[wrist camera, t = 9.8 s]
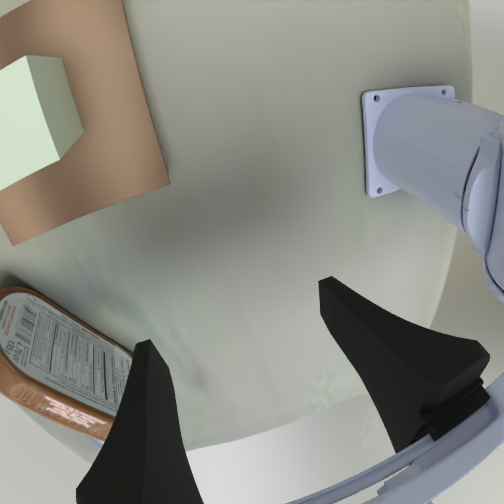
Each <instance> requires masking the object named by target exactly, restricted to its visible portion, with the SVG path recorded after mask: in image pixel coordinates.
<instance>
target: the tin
mask: <svg viewBox="0 0 504 504" xmlns="http://www.w3.org/2000/svg"><path fill="white" fill-rule="evenodd" d="M132 359H133V356H132V355H131V354H130V353H128V352H127V351H126V350H125V349H124V348H122V347H121V346H120V345H118V344H117V343H115V342H113V341H112V340H110V339H108V338H107V337H105V336H103V335H102V334H100V333H98V332H97V331H95V330H94V329H92V328H91V327H89V326H87V325H86V324H84V323H83V322H81V321H80V320H78V319H77V318H75V317H74V316H72V315H71V314H69V313H68V312H66V311H65V310H63V309H62V308H60V307H59V306H57V305H56V304H55V303H53V302H52V301H50V300H49V299H48V298H46V297H44V296H43V295H41V294H40V293H38V292H36V291H34V290H31V289H29V288H25V287H21V286H8V287H4V288H1V289H0V393H1V394H3V395H4V396H5V397H7V398H8V399H10V400H11V401H13V402H15V403H17V404H18V405H21V406H23V407H25V408H26V409H28V410H30V411H33V412H35V413H37V414H39V415H41V416H43V417H45V418H47V419H49V420H52V421H54V422H56V423H58V424H61V425H63V426H65V427H68V428H70V429H73V430H75V431H77V432H80V433H82V434H85V435H87V436H90V437H92V438H95V439H98V440H101V441H103V442H105V440H106V438H107V436H108V434H109V431H110V429H111V427H112V424H113V422H114V419H115V417H116V414H117V411H118V408H119V405H120V402H121V399H122V396H123V393H124V389H125V385H126V382H127V378H128V375H129V371H130V367H131V363H132Z"/></svg>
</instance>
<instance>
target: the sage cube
mask: <svg viewBox="0 0 504 504" xmlns="http://www.w3.org/2000/svg"><path fill="white" fill-rule="evenodd" d="M83 133H84V129H83V126H82V123H81V120H80V117H79V114H78V111H77V108H76V105H75V102H74V99H73V96H72V93H71V89H70V86H69V83H68V79H67V76H66V72H65V69H64V65H63V62H62V58H57V57H45V56H29V55H26V56H24V57H22V58H20V59H18V60H17V61H15V62H13V63H12V64H10V65H8V66H6V67H5V68H3V69H2V70H0V190H2V189H4V188H6V187H7V186H9V185H11V184H13V183H15V182H17V181H18V180H20V179H22V178H24V177H26V176H28V175H30V174H32V173H34V172H36V171H38V170H40V169H42V168H44V167H46V166H48V165H50V164H52V163H54V162H56V161H58V160H60V159H61V158H62V157H63V156H64V154H65V153H66V152H67V151H68V150H69V148H70V147H71V146H72V145H73V144H74V143H75V142H76V140H77V139H78V138H79V137H80V136H81V135H82V134H83Z"/></svg>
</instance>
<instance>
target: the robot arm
mask: <svg viewBox="0 0 504 504" xmlns="http://www.w3.org/2000/svg"><path fill="white" fill-rule="evenodd" d="M375 95H376V100H375V101H374V96H375ZM362 107H363V120H364V135H365V156H366V192H367V195H368V196H369V197H371V198H375V197H378V196H381V195H385V194H388V193H391V192H394V191H397V190H401V189H403V190H404V191H406V192H407V193H409V194H410V195H412V196H413V197H415V198H416V199H418V200H419V201H421V202H422V203H424V204H425V205H427V206H428V207H429V208H431V209H432V210H434V211H435V212H437V213H438V214H439V215H441V216H442V217H444V218H445V219H446V220H448V221H449V222H451V223H452V224H453V225H455V226H456V227H457V228H459V229H460V230H461V231H463V232H464V233H465V234H467V235H468V236H469V237H470V238H471V240H472V246H471V248H472V250H474V251H475V252H476V253H477V254H479V255H480V256H481V257H482V258H483V259H484V260H483V272H484V277H485V280H486V282H487V284H488V286H489V288H490V290H491V291H492V292H493V294H494V295H495V296H496V297H497V298H498V299H499V300H500V301H502V302H503V303H504V115H501V114H499V113H496V112H493V111H491V110H488V109H485V108H482V107H480V106H477V105H474V104H471V103H468V102H465V101H462V100H458V99H455V90H454V87H453V86H449V85H440V86H420V87H406V88H394V89H384V90H375V91H367V92H365V93H364V94H363V96H362ZM378 188H379V190H378V191H377V189H378ZM318 282H319V298H320V314H321V316H322V318H323V320H324V322H325V324H326V326H327V328H328V330H329V332H330V333H331V335H332V336H333V338H334V339H335V341H336V342H337V344H338V345H339V347H340V348H341V349H342V351H343V352H344V354H345V355H346V357H347V358H348V359H349V361H350V362H351V364H352V365H353V367H354V368H355V370H356V371H357V373H358V374H359V376H360V377H361V379H362V381H363V383H364V385H365V387H366V389H367V390H368V392H369V394H370V396H371V398H372V400H373V402H374V404H375V406H376V408H377V410H378V412H379V415H380V417H381V419H382V421H383V423H384V426H385V428H386V430H387V433H388V435H389V437H390V440H391V442H392V445H393V447H394V450H395V452H396V454H395V455H393V456H392V457H390V458H388V459H386V460H384V461H382V462H381V463H379V464H377V465H375V466H373V467H371V468H369V469H367V470H365V471H363V472H361V473H359V474H357V475H355V476H353V477H351V478H348V479H346V480H344V481H342V482H340V483H338V484H335V485H333V486H331V487H328V488H326V489H323V490H321V491H318V492H316V493H313V494H311V495H309V496H306V497H303V498H300V499H298V500H295V501H292V502H289V503H286V504H333V503H336V502H338V501H340V500H343V499H345V498H347V497H349V496H352V495H354V494H356V493H358V492H360V491H362V490H364V489H366V488H368V487H370V486H372V485H374V484H376V483H378V482H380V481H382V480H384V479H385V478H387V477H389V476H391V475H393V474H394V473H396V472H398V471H400V470H401V469H403V468H405V467H407V466H408V465H409V467H408V468H406V469H404V470H403V471H401V472H400V473H398V474H397V475H395V476H394V477H392V478H390V479H389V480H387V481H385V483H384V485H383V486H382V487H381V488H380V489H378V490H377V493H378V495H379V496H377V497H375V498H373V499H371V500H369V501H367V502H365V503H362V504H433V503H432V501H431V500H433V499H434V498H436V497H437V496H438V495H440V494H441V493H443V492H444V491H445V490H447V489H448V488H450V487H451V486H452V485H454V484H455V483H456V482H457V481H459V480H460V479H461V478H463V477H464V476H465V475H466V474H468V473H469V472H470V471H471V470H473V469H474V468H475V467H476V466H477V465H479V464H480V463H481V462H482V461H483V460H484V459H485V458H487V457H488V456H489V455H490V454H491V453H492V452H493V451H494V450H495V449H497V448H498V447H499V446H500V444H502V443H503V442H504V373H502V374H501V375H500V376H499V377H498V378H497V379H496V380H495V381H493V382H492V383H491V384H490V385H489V386H488V387H487V388H486V389H484V388H483V386H482V384H483V383H484V382H483V380H482V379H481V378H480V375H481V374H482V372H483V370H484V369H485V367H486V366H487V364H488V362H489V360H490V354H489V353H488V352H487V351H486V350H485V348H484V347H483V346H482V345H481V344H480V343H479V342H478V341H477V340H471V339H465V338H460V337H455V336H451V335H447V334H443V333H440V332H436V331H433V330H430V329H427V328H424V327H422V326H419V325H416V324H414V323H411V322H409V321H407V320H404V319H402V318H400V317H398V316H396V315H394V314H392V313H390V312H388V311H386V310H385V309H383V308H381V307H379V306H378V305H376V304H374V303H372V302H371V301H369V300H368V299H366V298H364V297H363V296H361V295H360V294H358V293H356V292H355V291H353V290H352V289H350V288H349V287H347V286H346V285H344V284H343V283H342V282H340V281H339V280H337V279H336V278H334V277H332V276H330V277H328V278H325V279H322V280H320V281H318ZM76 502H77V504H204V503H203V501H202V498H201V496H200V493H199V491H198V488H197V485H196V483H195V480H194V477H193V474H192V471H191V468H190V466H189V462H188V459H187V456H186V452H185V449H184V445H183V441H182V437H181V431H180V425H179V419H178V412H177V405H176V398H175V391H174V386H173V382H172V378H171V374H170V370H169V367H168V366H167V364H166V363H165V361H164V360H163V358H162V357H161V355H160V354H159V352H158V351H157V349H156V347H155V346H154V344H153V343H152V341H151V340H150V339H149V340H146V341H143V342H139V343H137V344H136V346H135V350H134V354H133V359H132V363H131V367H130V371H129V375H128V378H127V382H126V385H125V389H124V393H123V396H122V399H121V402H120V405H119V408H118V411H117V414H116V417H115V419H114V422H113V424H112V427H111V429H110V431H109V434H108V436H107V438H106V440H105V442H104V444H103V446H102V448H101V450H100V452H99V454H98V456H97V457H96V459H95V461H94V463H93V464H92V466H91V468H90V470H89V471H88V473H87V474H86V476H85V477H84V479H83V480H82V481H81V483H80V484H79V486H78V487H77V488H76Z"/></svg>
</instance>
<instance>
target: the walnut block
mask: <svg viewBox="0 0 504 504" xmlns="http://www.w3.org/2000/svg"><path fill="white" fill-rule="evenodd" d="M26 55H29V56H45V57H57V58H62V62H63V65H64V69H65V72H66V76H67V79H68V83H69V86H70V89H71V93H72V96H73V99H74V102H75V105H76V108H77V111H78V114H79V117H80V120H81V123H82V126H83V129H84V133H83V134H82V135H81V136H80V137H79V138H78V139H77V140H76V142H75V143H74V144H73V145H72V146H71V147H70V148H69V150H68V151H67V152H66V153H65V154H64V156H63V157H62V158H61V159H60V160H58V161H56V162H54V163H52V164H50V165H48V166H46V167H44V168H42V169H40V170H38V171H36V172H34V173H32V174H30V175H28V176H26V177H24V178H22V179H20V180H18V181H17V182H15V183H13V184H11V185H9V186H7V187H6V188H4V189H2V190H0V223H1V225H2V227H3V229H4V231H5V233H6V235H7V236H8V238H9V240H10V242H11V244H12V245H13V246H15V245H17V244H19V243H21V242H23V241H25V240H28V239H30V238H32V237H34V236H37V235H39V234H41V233H43V232H46V231H48V230H50V229H53V228H55V227H57V226H60V225H62V224H65V223H67V222H69V221H72V220H74V219H77V218H79V217H82V216H84V215H87V214H89V213H92V212H94V211H97V210H100V209H102V208H105V207H107V206H110V205H113V204H115V203H118V202H121V201H124V200H126V199H129V198H132V197H135V196H137V195H140V194H143V193H146V192H149V191H152V190H155V189H158V188H161V187H163V186H166V185H170V179H169V174H168V169H167V166H166V163H165V160H164V156H163V153H162V150H161V146H160V143H159V140H158V136H157V133H156V129H155V126H154V122H153V119H152V115H151V112H150V108H149V105H148V101H147V97H146V94H145V90H144V86H143V83H142V79H141V75H140V71H139V67H138V63H137V59H136V56H135V52H134V47H133V43H132V39H131V35H130V31H129V27H128V22H127V18H126V14H125V9H124V5H123V0H31V1H29V2H27V3H25V4H23V5H21V6H19V7H18V8H16V9H14V10H12V11H10V12H9V13H7V14H5V15H4V16H2V17H0V70H2V69H3V68H5V67H6V66H8V65H10V64H12V63H13V62H15V61H17V60H18V59H20V58H22V57H24V56H26Z"/></svg>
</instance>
